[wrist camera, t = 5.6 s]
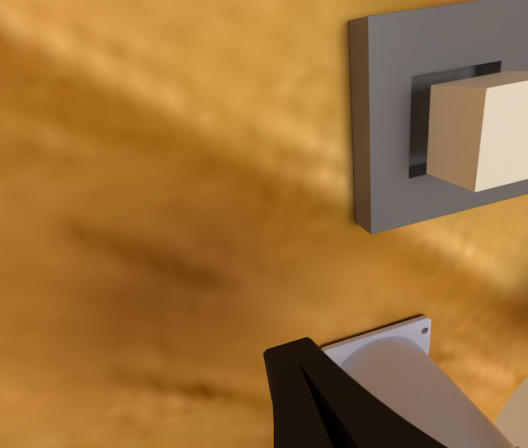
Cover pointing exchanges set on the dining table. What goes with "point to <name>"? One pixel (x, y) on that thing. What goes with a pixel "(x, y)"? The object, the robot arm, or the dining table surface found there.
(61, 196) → the dining table surface
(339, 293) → the dining table surface
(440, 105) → the cream button
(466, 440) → the robot arm
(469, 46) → the button panel
